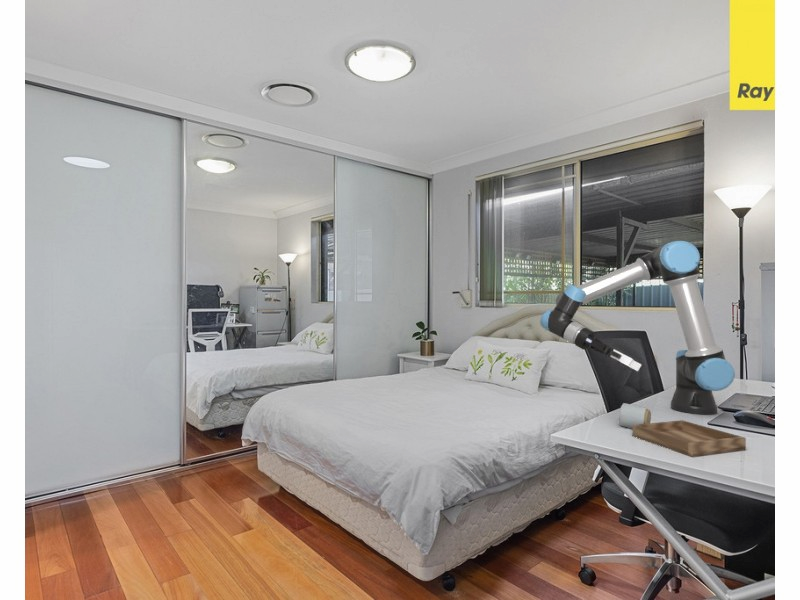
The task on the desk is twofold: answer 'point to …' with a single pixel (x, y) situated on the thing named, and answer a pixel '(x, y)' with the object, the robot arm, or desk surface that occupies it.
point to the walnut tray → (689, 438)
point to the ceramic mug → (633, 415)
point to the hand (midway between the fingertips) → (635, 365)
